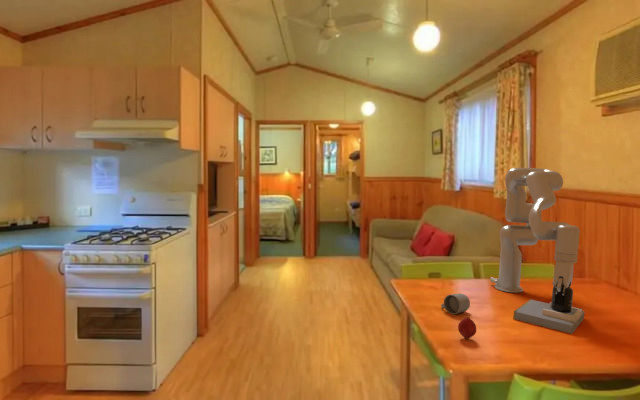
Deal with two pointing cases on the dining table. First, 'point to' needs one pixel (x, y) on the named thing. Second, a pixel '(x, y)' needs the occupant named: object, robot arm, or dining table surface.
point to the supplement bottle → (568, 300)
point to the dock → (549, 316)
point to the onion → (467, 328)
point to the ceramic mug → (456, 303)
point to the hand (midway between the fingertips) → (561, 302)
